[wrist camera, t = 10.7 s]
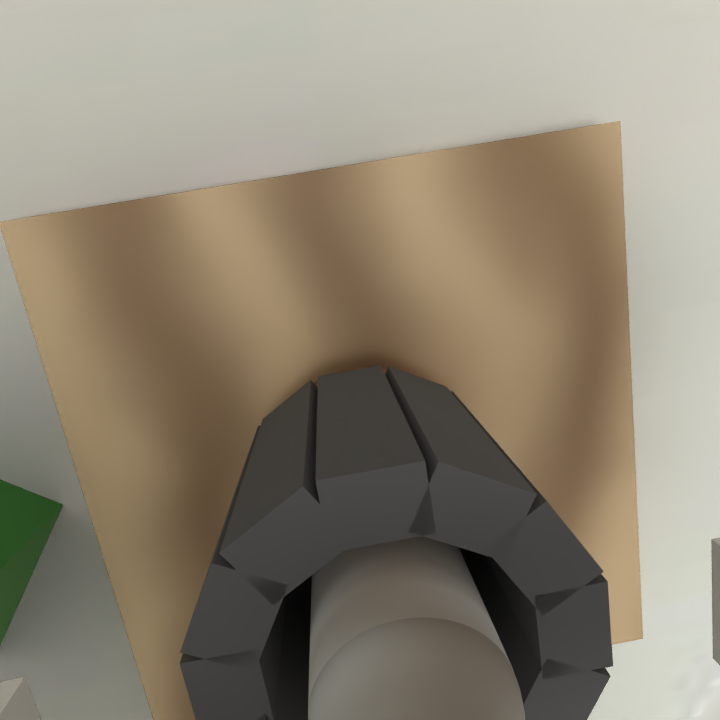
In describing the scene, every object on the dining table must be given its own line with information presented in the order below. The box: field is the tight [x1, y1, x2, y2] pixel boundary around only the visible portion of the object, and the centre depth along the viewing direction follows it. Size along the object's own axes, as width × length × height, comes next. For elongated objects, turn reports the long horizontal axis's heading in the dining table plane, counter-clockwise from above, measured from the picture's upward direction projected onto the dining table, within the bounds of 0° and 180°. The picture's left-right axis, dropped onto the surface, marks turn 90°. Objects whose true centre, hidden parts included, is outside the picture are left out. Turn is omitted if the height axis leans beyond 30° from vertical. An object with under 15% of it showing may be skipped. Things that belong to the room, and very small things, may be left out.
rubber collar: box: [180, 365, 613, 720], centre depth 13 cm, size 8×8×7 cm
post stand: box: [0, 121, 643, 720], centre depth 14 cm, size 20×20×14 cm
